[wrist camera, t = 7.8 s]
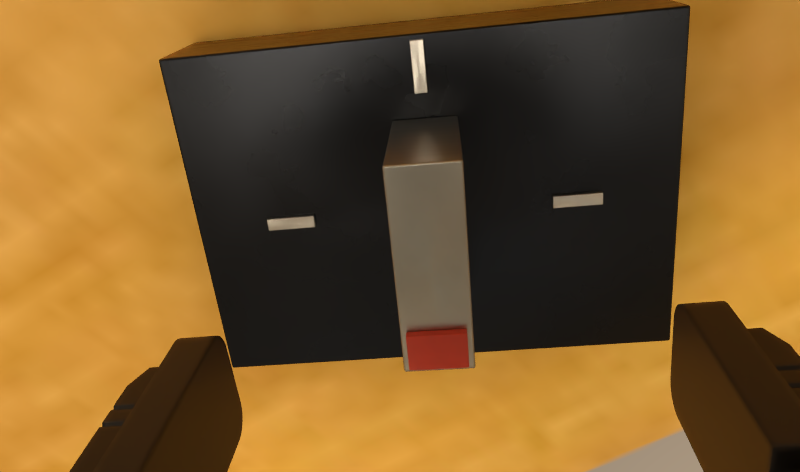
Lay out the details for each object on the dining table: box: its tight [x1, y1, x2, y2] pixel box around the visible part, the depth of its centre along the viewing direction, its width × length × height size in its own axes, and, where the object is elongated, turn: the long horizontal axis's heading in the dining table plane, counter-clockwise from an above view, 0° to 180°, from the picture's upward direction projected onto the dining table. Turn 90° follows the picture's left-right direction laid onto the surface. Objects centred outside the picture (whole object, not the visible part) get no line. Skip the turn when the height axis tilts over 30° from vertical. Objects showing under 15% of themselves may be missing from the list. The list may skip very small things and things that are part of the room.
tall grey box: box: [382, 116, 475, 371], centre depth 18 cm, size 6×2×4 cm, turn 5°
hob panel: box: [159, 0, 690, 367], centre depth 21 cm, size 14×10×3 cm
